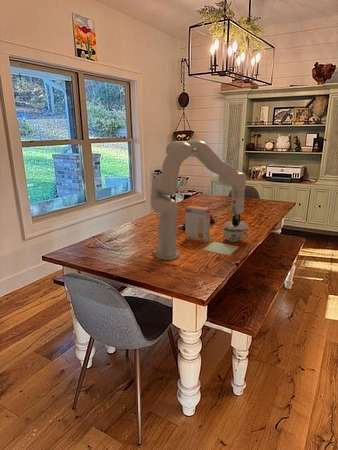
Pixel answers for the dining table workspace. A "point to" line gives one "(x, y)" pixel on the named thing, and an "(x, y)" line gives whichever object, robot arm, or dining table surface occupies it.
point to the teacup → (234, 234)
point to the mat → (221, 248)
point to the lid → (236, 227)
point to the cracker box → (197, 224)
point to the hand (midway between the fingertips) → (235, 223)
